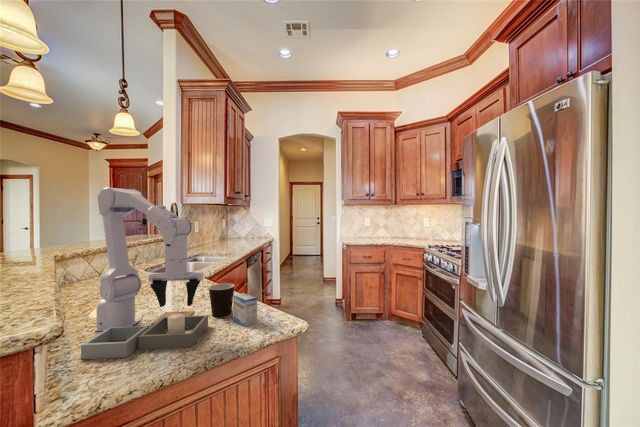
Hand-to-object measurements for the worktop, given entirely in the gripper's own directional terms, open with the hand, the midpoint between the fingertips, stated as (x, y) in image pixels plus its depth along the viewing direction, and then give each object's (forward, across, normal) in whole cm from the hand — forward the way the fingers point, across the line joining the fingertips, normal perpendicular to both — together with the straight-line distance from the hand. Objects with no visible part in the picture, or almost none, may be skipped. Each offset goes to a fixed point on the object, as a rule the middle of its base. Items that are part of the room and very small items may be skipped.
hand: (176, 305), depth 79 cm
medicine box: (+10, +18, +9) cm, 22 cm away
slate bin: (+9, -13, -5) cm, 17 cm away
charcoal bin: (+9, 0, 0) cm, 9 cm away
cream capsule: (+9, 0, 0) cm, 9 cm away
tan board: (+9, -7, +15) cm, 19 cm away
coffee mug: (+9, +9, +18) cm, 22 cm away
